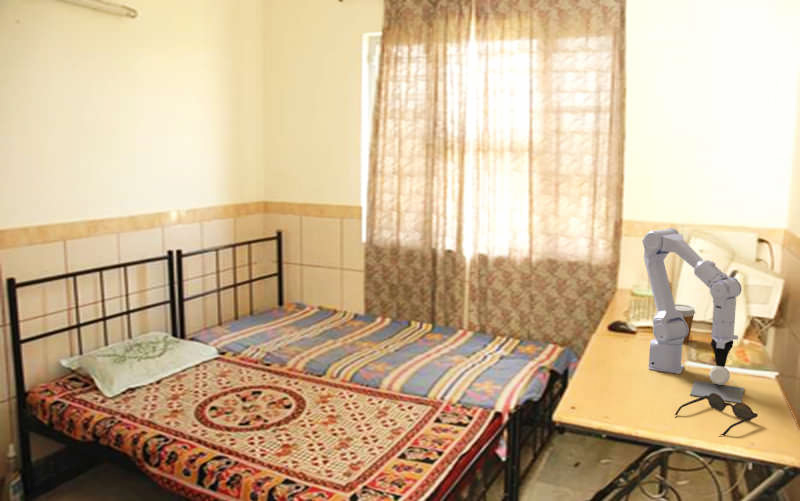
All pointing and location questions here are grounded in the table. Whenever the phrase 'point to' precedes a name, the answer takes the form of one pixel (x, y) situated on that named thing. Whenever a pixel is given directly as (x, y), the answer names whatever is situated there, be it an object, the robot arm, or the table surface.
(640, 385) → the table surface
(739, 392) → the desk mat
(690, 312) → the disposable coffee cup
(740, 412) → the eyeglasses
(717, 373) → the pill bottle
